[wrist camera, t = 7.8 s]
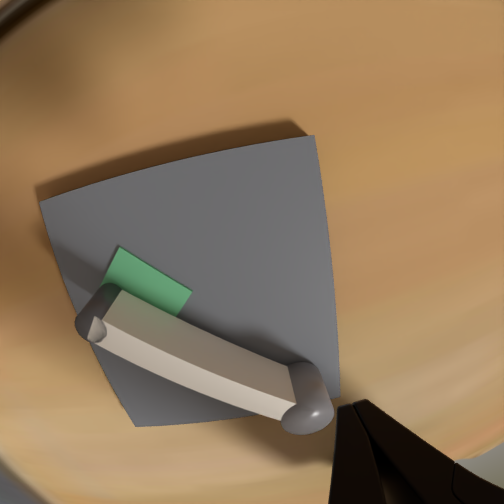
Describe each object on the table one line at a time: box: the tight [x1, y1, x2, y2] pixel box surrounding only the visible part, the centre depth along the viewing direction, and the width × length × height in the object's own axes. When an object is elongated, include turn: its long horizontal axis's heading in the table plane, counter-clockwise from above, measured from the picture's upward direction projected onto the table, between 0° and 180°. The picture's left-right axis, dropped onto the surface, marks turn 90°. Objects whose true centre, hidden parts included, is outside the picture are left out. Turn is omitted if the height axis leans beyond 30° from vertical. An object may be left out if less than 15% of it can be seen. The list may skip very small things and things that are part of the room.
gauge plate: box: [39, 135, 340, 427], centre depth 19 cm, size 18×16×1 cm
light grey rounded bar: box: [75, 283, 334, 435], centre depth 17 cm, size 16×3×4 cm, turn 60°
